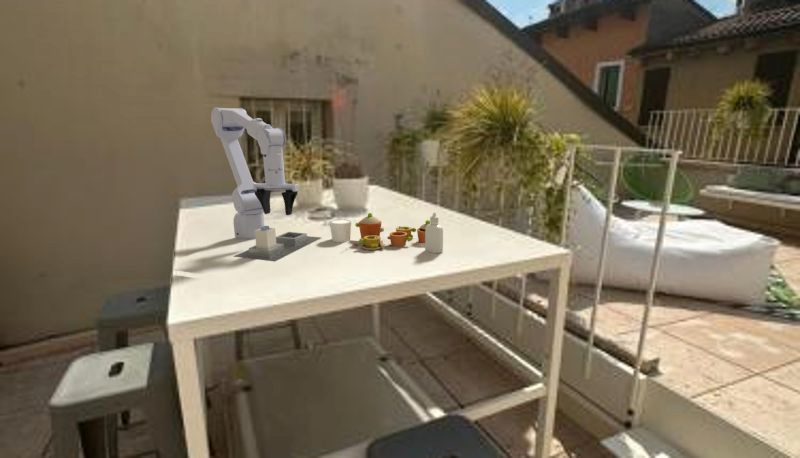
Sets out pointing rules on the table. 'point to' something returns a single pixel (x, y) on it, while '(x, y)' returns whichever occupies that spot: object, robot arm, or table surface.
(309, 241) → the panel
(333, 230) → the white cylinder
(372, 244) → the toy tea set
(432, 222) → the eye dropper bottle
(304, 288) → the table surface
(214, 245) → the table surface
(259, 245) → the plug
